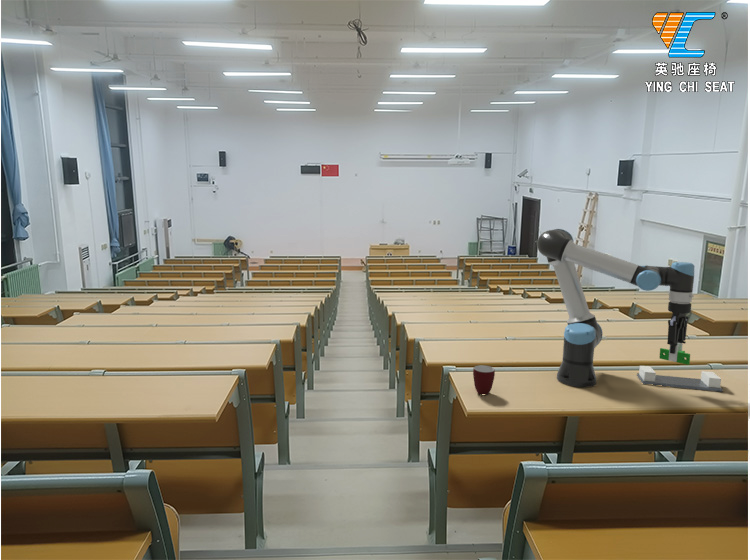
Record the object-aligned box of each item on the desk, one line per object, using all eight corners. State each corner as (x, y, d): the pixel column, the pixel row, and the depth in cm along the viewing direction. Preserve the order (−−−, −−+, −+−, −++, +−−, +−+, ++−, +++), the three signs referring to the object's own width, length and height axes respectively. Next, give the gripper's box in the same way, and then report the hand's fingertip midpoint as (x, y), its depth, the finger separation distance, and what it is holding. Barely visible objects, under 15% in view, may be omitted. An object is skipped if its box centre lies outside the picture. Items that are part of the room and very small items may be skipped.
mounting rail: (643, 384, 193) (644, 372, 192) (636, 375, 202) (637, 364, 201) (722, 391, 185) (723, 379, 184) (711, 382, 194) (713, 371, 194)
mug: (466, 387, 188) (467, 363, 186) (485, 386, 189) (486, 362, 188) (477, 398, 178) (478, 373, 176) (497, 396, 179) (498, 371, 178)
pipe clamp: (692, 363, 183) (693, 352, 182) (688, 365, 181) (689, 354, 180) (663, 356, 191) (663, 346, 190) (659, 358, 189) (660, 348, 188)
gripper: (682, 306, 174) (676, 366, 178) (699, 300, 184) (693, 358, 188) (660, 303, 180) (655, 361, 184) (678, 298, 190) (673, 353, 194)
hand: (674, 359), depth 186 cm, fingers closed on pipe clamp, 3 cm apart
